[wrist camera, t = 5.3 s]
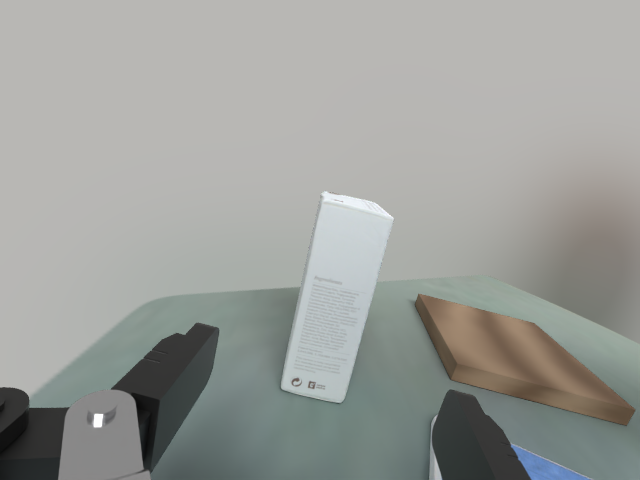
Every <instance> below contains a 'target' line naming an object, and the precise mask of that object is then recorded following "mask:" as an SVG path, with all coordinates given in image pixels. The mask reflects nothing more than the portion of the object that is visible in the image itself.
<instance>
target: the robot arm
mask: <svg viewBox="0 0 640 480" xmlns="http://www.w3.org/2000/svg"><path fill="white" fill-rule="evenodd" d="M218 337H219V328H217V327H213V326H209V325H205V324H201V323H196V324H195V325H194V326H193V327H192V328H191V329H190V330H189V331H188V332H187V333H186V335H182V334H179V333H176V334H173V335H171V336H169V337H167V338H165V339H162V340H161V341H160V342H159V343H158V344H157V345H156V346H155V347H154V348H153V349H152V351H150V352H149V353H148V354H147V355H146V356H145V357H144V359H142V360H141V361H139V362H138V363H137V364H136V365H135V366H134V367H133V368H132V369H131V370H130V371H129V372H128V373H127V374H126V375H125V376H124V377H123V378H122V379H121V380H120V381H119V382H118V383H117V384H116V385H115V386H114V387H112V388H111V389H110V390H102V391H97V392H94V393H91V394H88V395H86V396H84V397H82V398H80V399H79V400H78V401H76V402H75V403H74V404H73V405H72V406H71V407H68V408H29V397H28V395H27V394H26V393H25V392H24V391H22V390H19V389H15V388H5V387H3V388H0V480H151V476H150V474H151V472H152V471H153V469H154V467H155V466H156V464H157V463H158V461H159V459H160V458H161V456H162V455H163V453H164V452H165V450H166V448H167V447H168V445H169V444H170V442H171V440H172V439H173V437H174V436H175V434H176V432H177V431H178V429H179V428H180V426H181V424H182V423H183V421H184V420H185V418H186V417H187V415H188V413H189V412H190V410H191V409H192V407H193V405H194V404H195V402H196V401H197V399H198V397H199V396H200V394H201V393H202V391H203V390H204V388H205V386H206V384H207V382H208V380H209V378H210V375H211V372H212V369H213V364H214V358H215V353H216V348H217V342H218ZM432 446H433V450H434V453H435V457H436V460H437V463H438V467H439V470H440V473H441V476H442V480H531V478H530V476H529V475H528V473H527V471H526V469H525V468H524V466H523V464H522V463H521V461H520V460H518V456H517V454H516V452H515V451H514V449H513V448H511V444H510V442H509V440H508V439H507V437H506V435H505V434H504V432H503V430H502V429H501V428H500V427H499V426H498V425H497V424H496V423H495V422H494V421H493V420H492V419H491V418H490V416H488V415H485V413H484V412H483V410H482V408H481V406H480V404H479V403H478V401H477V399H476V397H475V396H473V395H470V394H466V393H462V392H458V391H455V390H449V391H448V392H447V393H446V396H445V398H444V401H443V403H442V406H441V408H440V411H439V413H438V416H437V418H436V421H435V423H434V426H433V430H432Z"/></svg>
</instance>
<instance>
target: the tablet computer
mask: <svg viewBox="0 0 640 480" xmlns="http://www.w3.org/2000/svg"><path fill="white" fill-rule="evenodd" d="M437 416H438V415H436V416H435V417H434V419H433V420H432V423H431V440H430V470H429V480H442V476H441V473H440V470H439V467H438V463H437V460H436V457H435V453H434V450H433V446H432V430H433V426H434V423H435V421H436V418H437ZM510 444H511V448H513V449H514V451H515V452H516V454H517V456H518V460H520V461H521V463H522V464H523V466H524V468H525V469H526V471H527V473H528V475H529V476H530V478H531V480H593V479H591V478H588V477H586V476H584V475H582V474H579V473H577V472H575V471H572V470H570V469H568V468H566V467H564V466H561V465H559V464H557V463H555V462H552V461H550V460H548V459H546V458H543V457H541V456H539V455H537V454H534V453H532V452H530V451H528V450H526V449H523V448H521V447H519V446H516V445H514V444H512V443H510Z"/></svg>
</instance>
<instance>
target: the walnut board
mask: <svg viewBox="0 0 640 480" xmlns="http://www.w3.org/2000/svg"><path fill="white" fill-rule="evenodd" d="M415 306H416V308H417V310H418V313H419V315H420V317H421V319H422V321H423V323H424V325H425V327H426V329H427V331H428V333H429V335H430V337H431V340H432V342H433V344H434V346H435V348H436V350H437V352H438V354H439V356H440V358H441V360H442V362H443V364H444V367H445V369H446V371H447V373H448V375H449V377H450V379H451V380H453V381H457V382H461V383H465V384H469V385H473V386H476V387H480V388H484V389H488V390H492V391H496V392H499V393H503V394H507V395H511V396H515V397H519V398H522V399H526V400H530V401H534V402H538V403H542V404H546V405H549V406H553V407H557V408H561V409H565V410H569V411H572V412H576V413H580V414H584V415H588V416H592V417H595V418H599V419H603V420H607V421H611V422H615V423H618V424H622V425H626V426H627V424H628V422H629V421H630V419H631V417H632V415H633V414H634V412H635V409H634V408H633V407H632V406H630V405H629V404H628V403H627V402H626V401H625V400H623V399H622V398H621V397H620V396H619V395H618V394H616V393H615V392H614V391H613V390H612V389H611V388H609V387H608V386H607V385H606V384H605V383H604V382H602V381H601V380H600V379H599V378H598V377H597V376H595V375H594V374H593V373H592V372H591V371H590V370H588V369H587V368H586V367H585V366H584V365H583V364H581V363H580V362H579V361H578V360H577V359H576V358H574V357H573V356H572V355H571V354H570V353H568V352H567V351H566V350H565V349H564V348H563V347H561V346H560V345H559V344H558V343H557V342H556V341H554V340H553V339H552V338H551V337H550V336H549V335H547V334H546V333H545V332H544V331H543V330H542V329H540V328H539V327H538V326H537V325H536V324H535V323H531V322H528V321H524V320H520V319H516V318H512V317H508V316H504V315H500V314H496V313H492V312H488V311H485V310H481V309H477V308H473V307H469V306H465V305H461V304H457V303H453V302H449V301H445V300H442V299H438V298H434V297H430V296H426V295H422V294H418V297H417V300H416V303H415Z"/></svg>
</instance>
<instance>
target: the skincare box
mask: <svg viewBox="0 0 640 480" xmlns="http://www.w3.org/2000/svg"><path fill="white" fill-rule="evenodd" d="M393 222H394V218H393V217H392V216H390V215H389V214H388V213H387V212H386V211H384V210H383V209H382V208H381V207H379V206H378V205H377V204H376V203H374V202H371V201H367V200H363V199H358V198H353V197H349V196H344V195H339V194H335V193H330V192H326V191H325V192H322V194H321V197H320V201H319V205H318V210H317V214H316V219H315V223H314V228H313V232H312V237H311V242H310V246H309V250H308V255H307V259H306V264H305V269H304V274H303V278H302V283H301V287H300V292H299V297H298V301H297V306H296V311H295V315H294V319H293V324H292V329H291V333H290V338H289V343H288V348H287V353H286V358H285V363H284V369H283V374H282V380H281V389H282V390H285V391H288V392H291V393H294V394H298V395H302V396H306V397H312V398H316V399H320V400H325V401H330V402H335V403H342V401H343V400H344V399H345V397H346V393H347V390H348V386H349V382H350V379H351V375H352V371H353V368H354V364H355V360H356V356H357V352H358V349H359V345H360V341H361V338H362V334H363V331H364V327H365V324H366V320H367V316H368V313H369V309H370V305H371V302H372V298H373V294H374V291H375V287H376V283H377V279H378V276H379V272H380V268H381V264H382V260H383V256H384V253H385V248H386V245H387V241H388V238H389V234H390V231H391V228H392V224H393Z"/></svg>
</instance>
